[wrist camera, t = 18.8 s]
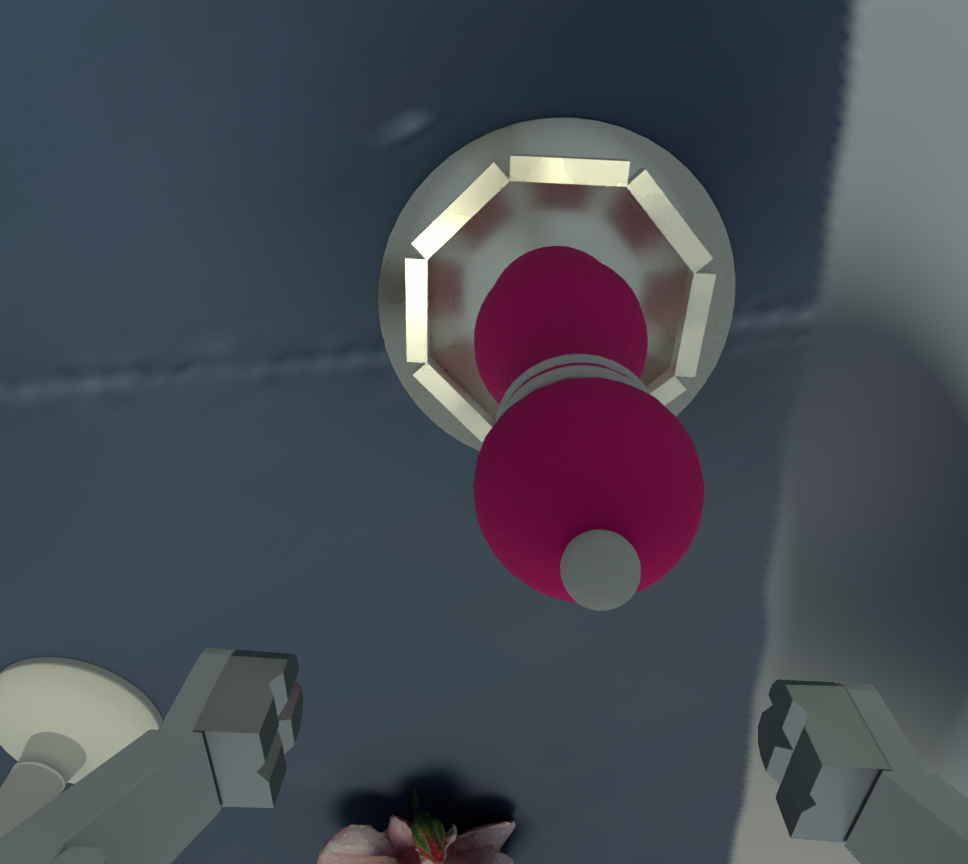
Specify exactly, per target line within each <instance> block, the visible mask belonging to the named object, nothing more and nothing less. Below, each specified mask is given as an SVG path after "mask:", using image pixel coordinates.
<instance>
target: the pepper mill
mask: <svg viewBox="0 0 968 864" xmlns="http://www.w3.org/2000/svg"><path fill="white" fill-rule="evenodd" d="M647 348H648V336H647V326H646V323H645V319H644V315H643V312H642V309H641V306H640V303H639V301H638V299H637V297H636V295H635V294H634V292H633V290H632V289H631V287H630V286H629V285H628V284H627V283H626V281H625V280H624V279H623V278H622V277H621V276H620V275H618V274H617V273H616V272H615V271H614V270H612V269H611V268H609V267H608V266H606V265H604V264H602V263H600V262H599V261H598V260H597V259H596V258H594V257H593V256H591V255H589V254H587V253H585V252H583V251H581V250H578V249H575V248H572V247H566V246H548V247H542V248H538V249H535V250H532V251H529V252H527V253H525V254H523V255H522V256H520V257H518V258H517V259H516V260H514V261H513V262H512V263H510V264H509V265H508V267H507V268H506V269H505V270H504V271H503V272H502V273H501V275H500V276H499V278H498V279H497V281H496V283H495V285H494V286H493V288H492V289H491V290H490V292H489V293H488V294H487V296H486V298H485V300H484V301H483V303H482V305H481V307H480V310H479V313H478V316H477V319H476V324H475V329H474V349H475V361H476V364H477V367H478V371H479V374H480V377H481V379H482V381H483V382H484V384H485V386H486V388H487V390H488V391H489V393H490V394H491V395H492V397H493V398H494V399H495V401H496V402H497V403H498V404H499V408H498V411H497V414H496V421H495V425H494V426H493V427H492V428H491V430H490V431H489V432H488V434H487V435H486V436H485V439H484V442H483V444H482V447H481V450H480V452H479V455H478V458H477V463H476V470H475V477H474V484H473V488H474V499H475V506H476V513H477V520H478V523H479V526H480V528H481V531H482V533H483V536H484V538H485V540H486V541H487V543H488V545H489V546H490V548H491V550H492V551H493V553H494V555H495V556H496V557H497V558H498V559H499V561H500V562H501V563H502V564H503V565H504V566H505V567H506V568H507V570H508V571H510V572H511V573H512V574H513V575H514V576H516V577H517V578H518V579H520V580H521V581H522V582H524V583H525V584H526V585H528V586H529V587H531V588H533V589H535V590H537V591H539V592H541V593H543V594H545V595H547V596H551V597H554V598H558V599H562V600H566V601H569V602H577V603H579V604H580V605H582V606H584V607H586V608H589V609H593V610H610V609H614V608H617V607H620V606H621V605H623V604H624V603H626V602H627V601H628V600H629V599H630V598H631V597H632V596H633V595H634V593H636V592H639V591H641V590H644V589H646V588H647V587H649V586H650V585H652V584H653V583H655V582H657V581H658V580H660V579H661V578H662V577H663V576H664V575H665V574H667V573H668V572H669V571H670V570H671V569H672V568H674V567H675V565H676V564H677V563H678V562H679V560H680V559H681V558H682V557H683V555H684V554H685V553H686V552H687V550H688V548H689V546H690V544H691V542H692V540H693V538H694V536H695V534H696V532H697V530H698V527H699V523H700V519H701V514H702V509H703V504H704V482H703V477H702V472H701V467H700V462H699V459H698V456H697V453H696V450H695V447H694V444H693V441H692V439H691V438H690V436H689V435H688V433H687V432H686V430H685V429H684V428H683V426H682V425H681V423H680V422H679V420H678V419H677V417H676V416H675V415H674V414H673V413H672V412H671V411H669V410H668V409H667V408H666V407H665V406H664V405H663V404H662V403H661V402H660V401H659V400H658V399H656V398H655V397H654V396H652V395H650V394H649V392H648V391H647V389H646V387H645V386H644V384H643V383H642V382H641V381H640V378H641V375H642V372H643V369H644V366H645V361H646V355H647Z"/></svg>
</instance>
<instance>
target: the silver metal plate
mask: <svg viewBox="0 0 968 864" xmlns="http://www.w3.org/2000/svg"><path fill="white" fill-rule="evenodd" d="M548 246H566V247H572V248H575V249H578V250H581V251H583V252H585V253H587V254H589V255H591V256H593V257H594V258H596V259H597V260H598V261H599V262H600V263H602V264H604V265H606V266H608V267H609V268H611V269H612V270H614V271H615V272H616V273H617V274H618V275H620V276H621V277H622V278H623V279H624V280H625V281H626V283H627V284H628V285H629V286H630V287H631V289H632V290H633V292H634V294H635V295H636V297H637V299H638V301H639V303H640V306H641V309H642V312H643V315H644V319H645V323H646V326H647V336H648V348H647V355H646V361H645V366H644V369H643V372H642V375H641V378H640V381H641V382H642V383H643V384H644V386H645V387H646V389H647V391H648V392H649V394H650V395H652V396H654V397H655V398H656V399H658V400H659V401H660V402H661V403H662V404H663V405H664V406H665V407H666V408H667V409H668V410H669V411H671V412H672V413H673V414H674V415H675V416H677V415H678V414H679V413H680V412H681V411H682V410H683V409H684V408H685V407H686V406H687V405H688V404H689V403H690V402H691V401H692V400H693V398H694V397H695V396H696V394H697V393H698V392H699V391H700V389H701V388H702V387H703V385H704V384H705V382H706V381H707V379H708V377H709V376H710V374H711V372H712V371H713V369H714V367H715V366H716V364H717V361H718V359H719V357H720V355H721V352H722V350H723V348H724V345H725V342H726V339H727V336H728V332H729V329H730V325H731V322H732V315H733V309H734V302H735V270H734V261H733V253H732V250H731V246H730V242H729V238H728V235H727V231H726V228H725V226H724V224H723V221H722V219H721V217H720V214H719V212H718V210H717V208H716V206H715V205H714V203H713V201H712V200H711V198H710V196H709V195H708V193H707V192H706V190H705V188H704V187H703V186H702V185H701V183H700V182H699V181H698V180H697V179H696V178H695V176H694V175H693V174H692V173H691V172H690V171H689V169H688V168H687V167H685V166H684V165H683V164H682V163H681V162H680V161H679V160H677V159H676V158H675V157H674V156H673V155H672V154H670V153H669V152H668V151H666V150H665V149H663V148H662V147H660V146H659V145H657V144H655V143H654V142H652V141H651V140H649V139H647V138H645V137H643V136H641V135H638V134H636V133H634V132H632V131H629V130H627V129H625V128H622V127H619V126H616V125H612V124H608V123H605V122H601V121H597V120H591V119H583V118H575V117H551V118H540V119H534V120H528V121H522V122H518V123H515V124H511V125H508V126H505V127H502V128H499V129H496V130H493V131H491V132H489V133H487V134H485V135H483V136H481V137H479V138H477V139H475V140H473V141H471V142H470V143H468V144H467V145H465V146H464V147H462V148H461V149H459V150H458V151H456V152H455V153H453V154H452V155H450V156H449V157H448V158H447V159H446V160H445V161H444V162H442V163H441V164H440V165H439V166H438V167H437V168H436V169H435V170H433V171H432V172H431V173H430V174H429V176H428V177H427V178H426V179H425V180H424V181H423V183H422V184H421V185H420V186H419V187H418V188H417V190H416V191H415V192H414V193H413V195H412V196H411V198H410V199H409V201H408V202H407V204H406V205H405V207H404V209H403V210H402V212H401V213H400V215H399V217H398V219H397V221H396V224H395V226H394V228H393V230H392V232H391V234H390V237H389V240H388V243H387V246H386V250H385V253H384V256H383V260H382V266H381V272H380V278H379V292H378V308H379V318H380V327H381V331H382V335H383V340H384V344H385V348H386V351H387V353H388V356H389V358H390V361H391V364H392V366H393V368H394V370H395V372H396V374H397V376H398V378H399V380H400V381H401V383H402V385H403V387H404V388H405V390H406V391H407V392H408V394H409V395H410V397H411V398H412V399H413V401H414V402H415V403H416V405H417V406H418V407H419V408H420V409H421V410H422V411H423V412H424V413H425V414H426V415H427V416H428V418H429V419H431V420H432V421H433V422H434V423H435V424H437V425H438V426H439V427H440V428H441V429H443V430H444V431H445V432H446V433H448V434H449V435H451V436H453V437H454V438H456V439H457V440H459V441H460V442H462V443H464V444H466V445H468V446H470V447H472V448H474V449H476V450H478V451H480V450H481V447H482V444H483V442H484V439H485V436H486V435H487V434H488V432H489V431H490V430H491V428H492V427H493V426H494V425H495V421H496V414H497V411H498V408H499V404H498V403H497V402H496V401H495V399H494V398H493V397H492V395H491V394H490V393H489V391H488V390H487V388H486V386H485V384H484V382H483V381H482V379H481V377H480V374H479V371H478V367H477V364H476V361H475V349H474V329H475V324H476V319H477V316H478V313H479V310H480V307H481V305H482V303H483V301H484V300H485V298H486V296H487V294H488V293H489V292H490V290H491V289H492V288H493V286H494V285H495V283H496V281H497V279H498V278H499V276H500V275H501V273H502V272H503V271H504V270H505V269H506V268H507V267H508V265H509V264H510V263H512V262H513V261H514V260H516V259H517V258H518V257H520V256H522V255H523V254H525V253H527V252H529V251H532V250H535V249H538V248H542V247H548Z"/></svg>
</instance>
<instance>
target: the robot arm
mask: <svg viewBox="0 0 968 864" xmlns="http://www.w3.org/2000/svg"><path fill="white" fill-rule="evenodd" d="M298 670H299V666H298V661H297V656H296V655H294V654H287V653H274V652H262V651H250V650H237V649H236V650H233V649H219V648H207V649H206V650H205V651H203V652H202V653H201V654H200V655H199V657H198V659H197V661H196V662H195V664H194V666H193V668H192V670H191V672H190V673H189V675H188V677H187V679H186V681H185V683H184V684H183V686H182V688H181V690H180V692H179V693H178V695H177V697H176V699H175V701H174V703H173V704H172V706H171V708H170V710H169V712H168V714H167V715H166V717H165V719H164V721H163V723H162V725H161V726H160V728H159V730H152V729H150V730H148V731H147V732H146V733H144V734H143V735H141V736H140V737H139V738H137V739H136V740H135V741H133V742H132V743H130V744H129V745H128V746H126V747H125V748H124V749H122V750H121V751H119V752H118V753H117V754H115V755H114V756H112V757H111V758H110V759H108V760H107V761H106V762H104V763H103V764H101V765H100V766H99V767H97V768H96V769H95V770H93V771H92V772H90V773H89V774H88V775H86V776H85V777H84V778H82V779H81V780H79V781H78V782H77V783H75V784H74V785H73V786H71V787H70V788H68V789H67V790H66V791H64V792H63V793H62V794H60V795H59V796H57V797H56V798H55V799H53V800H52V801H51V802H49V803H48V804H46V805H45V806H44V807H42V808H41V809H39V810H38V811H37V812H35V813H34V814H33V815H31V816H30V817H28V818H27V819H26V820H24V821H23V822H22V823H20V824H19V825H17V826H16V827H15V828H13V829H12V830H11V831H9V832H8V833H6V834H5V835H4V836H2V837H1V838H0V864H170V863H171V862H172V861H173V860H174V859H175V858H176V857H177V856H178V855H179V854H180V853H181V852H182V851H183V849H184V848H185V847H186V846H187V845H188V844H189V843H190V842H191V841H192V840H193V839H194V838H195V837H196V836H197V835H198V834H199V833H200V832H201V831H202V830H203V829H204V827H205V826H206V825H207V824H208V823H209V822H210V821H211V820H212V819H213V818H214V817H215V816H216V815H217V814H218V813H219V812H220V811H221V806H225V807H260V808H274V805H275V802H276V799H277V796H278V793H279V790H280V787H281V784H282V781H283V778H284V775H285V772H286V763H285V757H284V754H285V753H286V752H287V751H288V750H289V749H290V748H291V747H293V746H294V745H295V742H296V739H297V735H298V732H299V729H300V723H301V717H302V711H303V694H302V687H301V686H300V685H299V684H298V683H297V682H295V679H296V676H297V673H298ZM769 697H770V699H771V702H772V704H773V706H771V707H770V708H768V709H767V710H765V711H764V712H763V713H762V715H761V719H760V722H759V725H758V745H759V750H760V755H761V759H762V761H763V764H764V767H765V770H766V772H767V773H768V774H769V775H770V776H771V777H772V778H774V779H775V780H776V781H777V782H778V783H779V784H780V787H779V790H778V792H777V795H776V800H777V802H778V805H779V808H780V811H781V813H782V816H783V819H784V821H785V824H786V827H787V829H788V832H789V835H790V837H791V838H795V839H806V840H818V841H829V842H841V843H845V847H846V848H847V849H848V850H849V851H850V852H851V854H852V855H853V856H854V857H855V858H856V859H857V860H858V861H859V862H860V863H861V864H968V798H967V797H965V796H964V795H963V794H962V793H960V792H959V791H958V790H956V789H955V788H954V787H953V786H951V785H950V784H949V783H947V782H946V781H945V780H943V779H942V778H941V777H940V776H938V775H937V774H931V773H926V771H925V770H924V768H923V766H922V764H921V763H920V761H919V760H918V758H917V756H916V755H915V753H914V751H913V750H912V748H911V746H910V745H909V743H908V741H907V740H906V738H905V737H904V735H903V733H902V732H901V730H900V728H899V727H898V725H897V724H896V722H895V720H894V718H893V717H892V715H891V713H890V712H889V710H888V708H887V707H886V705H885V703H884V702H883V700H882V699H881V697H880V695H879V694H878V692H877V690H876V689H875V688H874V687H872V686H871V685H870V684H861V683H840V682H838V683H835V682H827V681H802V680H779V679H778V680H777V681H775V682H774V683H773V684H772V687H771V689H770V692H769Z"/></svg>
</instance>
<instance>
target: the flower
mask: <svg viewBox="0 0 968 864" xmlns="http://www.w3.org/2000/svg"><path fill="white" fill-rule="evenodd" d="M413 808H414V819H413V823H412V822H409V821H407V820H405V819H403V818H401V817H399V816H394V814H392V815H391V817H390V821H389V826H388V828H387V829H386V830H385V831H384V832H378V831H377V830H376V829H374V828H373V827H372V826H371V825H349V826H347V827H345V828H343V829H341V830H339V831H338V832H337V833H336V834H335V835H334V836H333V837H332V838H331V839H330V840H329V841H327V843H326V844H325V846H324V847H323V849H322V850H321V851H320V852H319V859H318V863H317V864H514V861H513V860H512V859H511V858H510V857H509V856H508V855H506V854H504V853H502V852H500V848H501V847H502V845H503V844H504V842H505V841H506V840H507V838H508V837H509V835H510V834H511V833H512V831H513V830H514V828H515V826H516V825H515V821H514V820H513V819H511V820H510V821H509V822H506V821H503V822H496V823H492V824H487V825H483V826H479V827H475V828H472V829H470V830H467V831H465V832H463V833H461V834H460V835H457V828H456V825H454V824H452V827H451V828H450V830H449V831H448V832H447V833H446V832H444V826H443V825H442V823H441V822H440V820H439V819H436V818H433V817H430V816H429V814H428V813H427V812H423V811H422V810H421V809H420V808H419V803H418V797H417V792H416V788H414V793H413Z"/></svg>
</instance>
